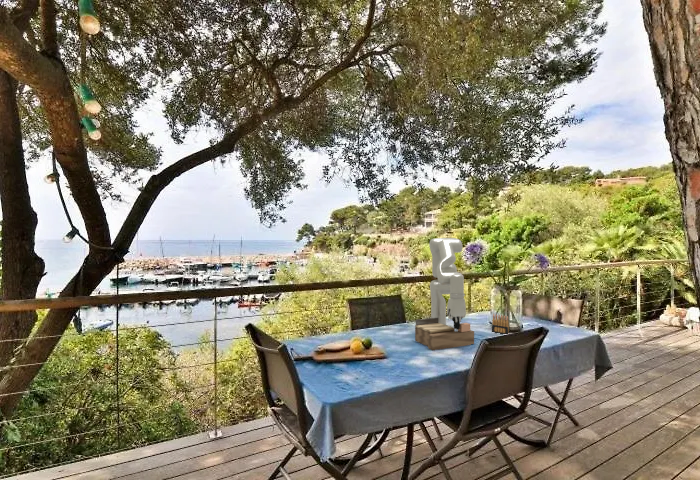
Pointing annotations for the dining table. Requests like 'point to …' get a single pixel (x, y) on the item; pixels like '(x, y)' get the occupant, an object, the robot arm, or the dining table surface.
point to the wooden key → (464, 327)
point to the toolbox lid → (432, 325)
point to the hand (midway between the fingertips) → (456, 328)
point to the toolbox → (444, 338)
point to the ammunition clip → (500, 325)
